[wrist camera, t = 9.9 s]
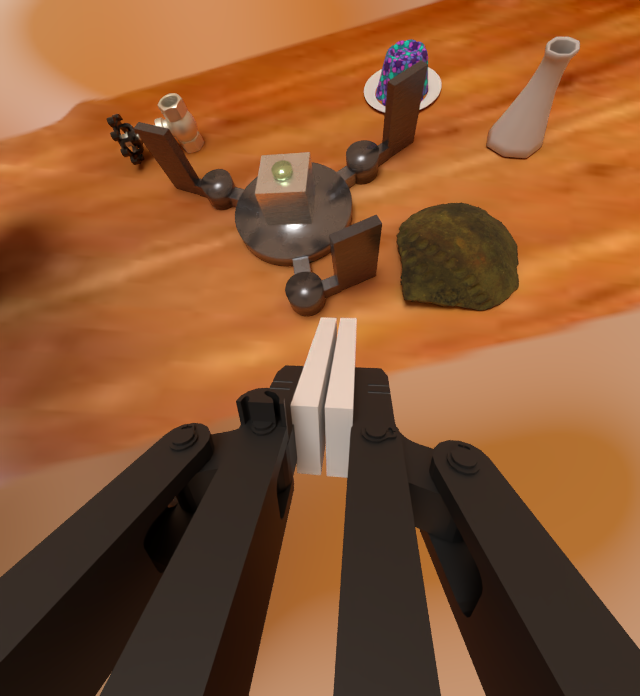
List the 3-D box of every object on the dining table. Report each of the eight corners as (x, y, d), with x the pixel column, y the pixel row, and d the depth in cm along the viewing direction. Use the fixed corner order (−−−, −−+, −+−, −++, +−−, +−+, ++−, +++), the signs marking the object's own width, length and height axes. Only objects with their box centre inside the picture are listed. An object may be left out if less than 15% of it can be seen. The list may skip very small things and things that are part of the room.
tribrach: (148, 284, 39) (89, 241, 30) (186, 153, 46) (148, 89, 38) (418, 284, 34) (439, 232, 25) (413, 137, 41) (427, 59, 33)
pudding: (420, 60, 47) (427, 15, 42) (453, 102, 43) (466, 58, 38) (353, 84, 47) (352, 43, 42) (380, 129, 43) (383, 88, 38)
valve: (204, 129, 48) (139, 147, 49) (182, 83, 42) (107, 104, 42) (206, 156, 46) (138, 174, 46) (183, 111, 40) (104, 133, 40)
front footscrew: (298, 321, 34) (279, 282, 26) (286, 292, 36) (264, 247, 27) (381, 286, 34) (389, 235, 26) (366, 258, 36) (369, 202, 27)
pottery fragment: (504, 211, 36) (523, 182, 32) (519, 313, 32) (543, 294, 28) (395, 214, 38) (399, 187, 34) (394, 310, 34) (400, 293, 29)
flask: (498, 117, 41) (541, 19, 31) (550, 131, 39) (613, 31, 29) (476, 150, 39) (514, 58, 30) (529, 167, 37) (588, 74, 28)
